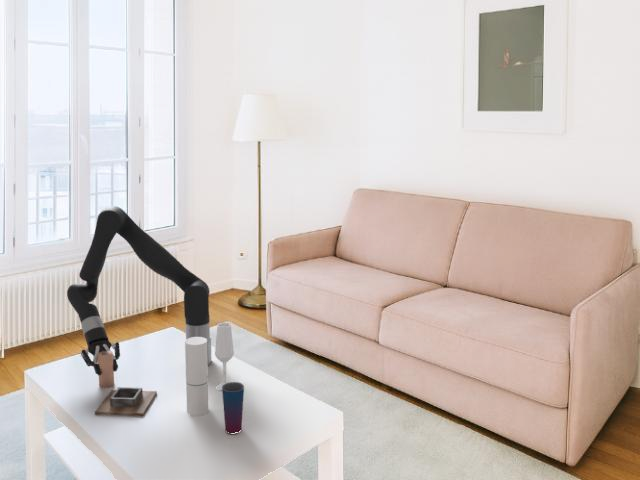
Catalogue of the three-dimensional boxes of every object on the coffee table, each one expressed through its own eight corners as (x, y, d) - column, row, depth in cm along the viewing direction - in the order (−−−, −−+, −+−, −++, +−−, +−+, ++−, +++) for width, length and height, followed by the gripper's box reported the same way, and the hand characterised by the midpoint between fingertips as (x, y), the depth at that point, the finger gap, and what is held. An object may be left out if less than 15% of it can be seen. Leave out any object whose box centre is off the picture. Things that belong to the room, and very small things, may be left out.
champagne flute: (216, 383, 233) (215, 321, 227) (234, 382, 233) (233, 321, 228) (215, 391, 226) (213, 328, 221) (233, 391, 227) (233, 328, 221)
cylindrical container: (211, 406, 215) (209, 337, 210) (205, 416, 208) (203, 345, 203) (190, 404, 216) (188, 336, 210) (184, 415, 209) (182, 344, 204)
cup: (223, 425, 203) (222, 382, 200) (244, 424, 204) (244, 381, 200) (221, 436, 197) (221, 391, 193) (243, 435, 197) (243, 391, 194)
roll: (116, 381, 232) (114, 350, 229) (111, 387, 227) (109, 356, 224) (102, 381, 232) (100, 350, 230) (97, 387, 227) (95, 356, 224)
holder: (156, 393, 223) (156, 383, 222) (143, 416, 208) (142, 405, 207) (111, 392, 224) (111, 381, 223) (94, 414, 208) (94, 403, 207)
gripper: (76, 330, 227) (90, 373, 220) (115, 322, 235) (129, 363, 229) (72, 340, 232) (85, 382, 225) (111, 331, 240) (124, 371, 234)
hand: (107, 372), depth 227 cm, fingers closed on roll, 5 cm apart
